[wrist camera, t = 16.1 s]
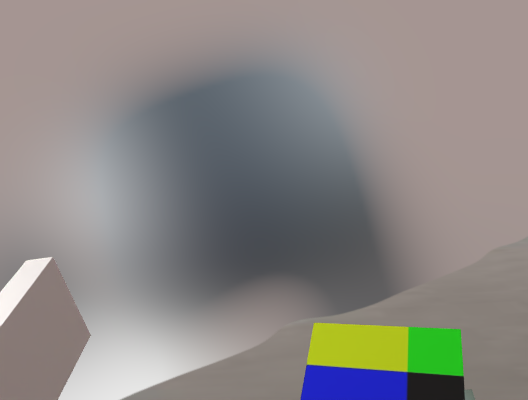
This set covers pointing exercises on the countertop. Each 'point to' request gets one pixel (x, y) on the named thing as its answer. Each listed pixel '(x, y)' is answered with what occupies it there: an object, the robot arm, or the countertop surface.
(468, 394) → the shallow tray
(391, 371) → the puzzle toy
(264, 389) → the countertop surface
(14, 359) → the robot arm
